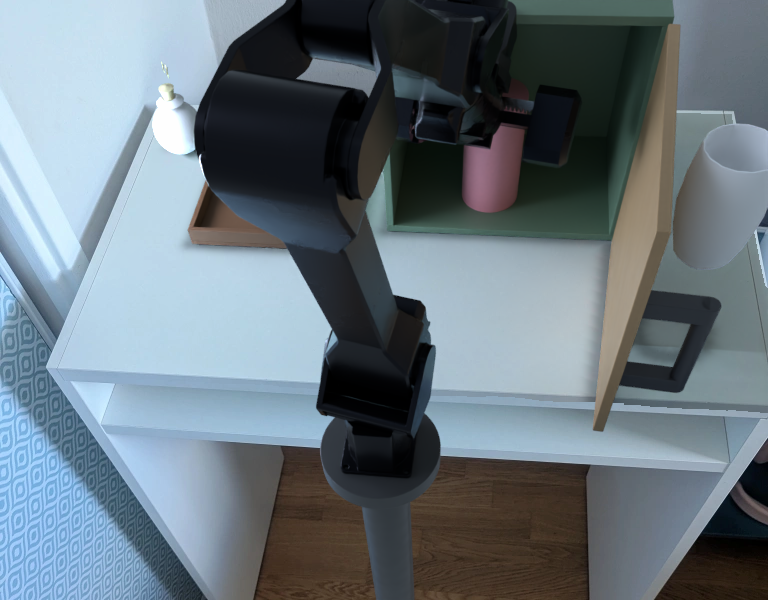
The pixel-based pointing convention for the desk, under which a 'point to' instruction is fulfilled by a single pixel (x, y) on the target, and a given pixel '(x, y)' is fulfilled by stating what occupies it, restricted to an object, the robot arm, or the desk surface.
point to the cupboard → (536, 182)
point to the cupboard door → (648, 256)
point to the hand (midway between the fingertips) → (487, 134)
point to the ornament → (174, 121)
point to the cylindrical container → (495, 164)
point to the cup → (722, 196)
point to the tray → (225, 225)
